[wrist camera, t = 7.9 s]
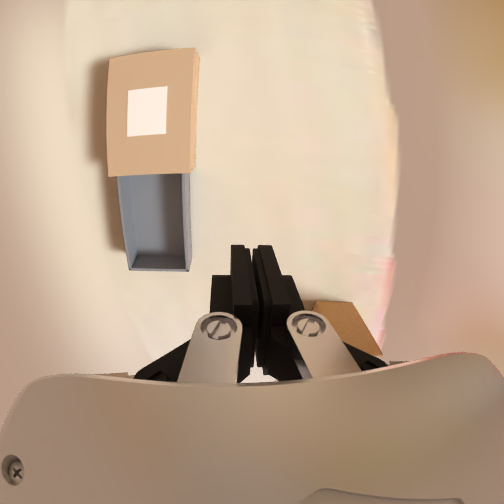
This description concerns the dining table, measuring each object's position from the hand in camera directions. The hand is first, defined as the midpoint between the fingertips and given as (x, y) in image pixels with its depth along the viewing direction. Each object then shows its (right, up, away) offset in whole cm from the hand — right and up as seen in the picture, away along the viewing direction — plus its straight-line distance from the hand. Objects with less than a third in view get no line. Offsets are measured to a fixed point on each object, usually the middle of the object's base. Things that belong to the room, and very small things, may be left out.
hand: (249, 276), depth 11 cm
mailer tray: (-14, +7, +27) cm, 31 cm away
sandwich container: (+15, -15, +42) cm, 47 cm away
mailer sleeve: (-13, +20, +21) cm, 32 cm away
